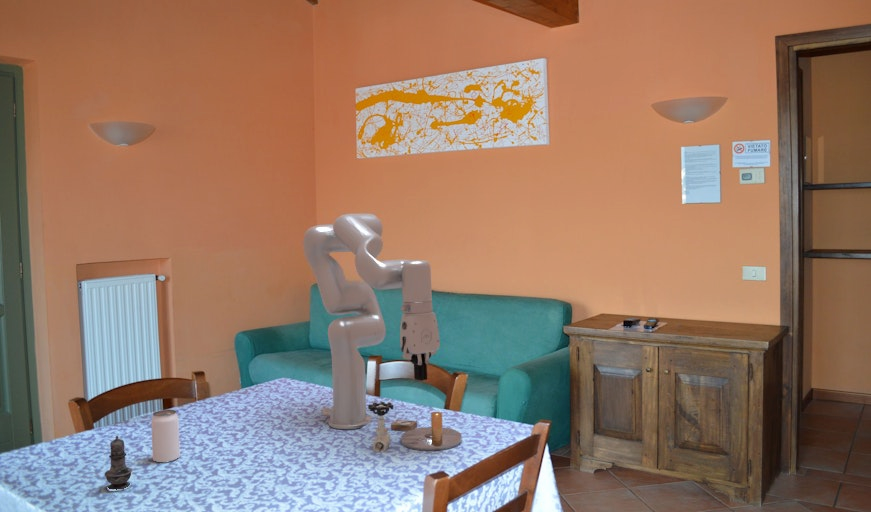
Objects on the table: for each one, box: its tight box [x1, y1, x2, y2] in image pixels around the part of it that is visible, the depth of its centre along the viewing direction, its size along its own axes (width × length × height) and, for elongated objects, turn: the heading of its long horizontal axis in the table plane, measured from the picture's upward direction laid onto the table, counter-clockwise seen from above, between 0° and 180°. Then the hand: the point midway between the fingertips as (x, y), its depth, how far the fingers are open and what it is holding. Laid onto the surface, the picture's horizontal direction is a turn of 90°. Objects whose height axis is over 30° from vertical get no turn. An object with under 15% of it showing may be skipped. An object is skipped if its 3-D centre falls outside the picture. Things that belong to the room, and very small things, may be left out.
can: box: [150, 409, 181, 463], centre depth 182 cm, size 6×6×12 cm
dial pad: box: [390, 419, 418, 432], centre depth 202 cm, size 6×5×3 cm
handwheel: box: [400, 411, 463, 452], centre depth 190 cm, size 16×16×9 cm
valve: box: [367, 401, 394, 453], centre depth 186 cm, size 7×7×12 cm
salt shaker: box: [104, 435, 133, 490], centre depth 163 cm, size 6×6×12 cm
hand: (420, 379), depth 184 cm, fingers closed
